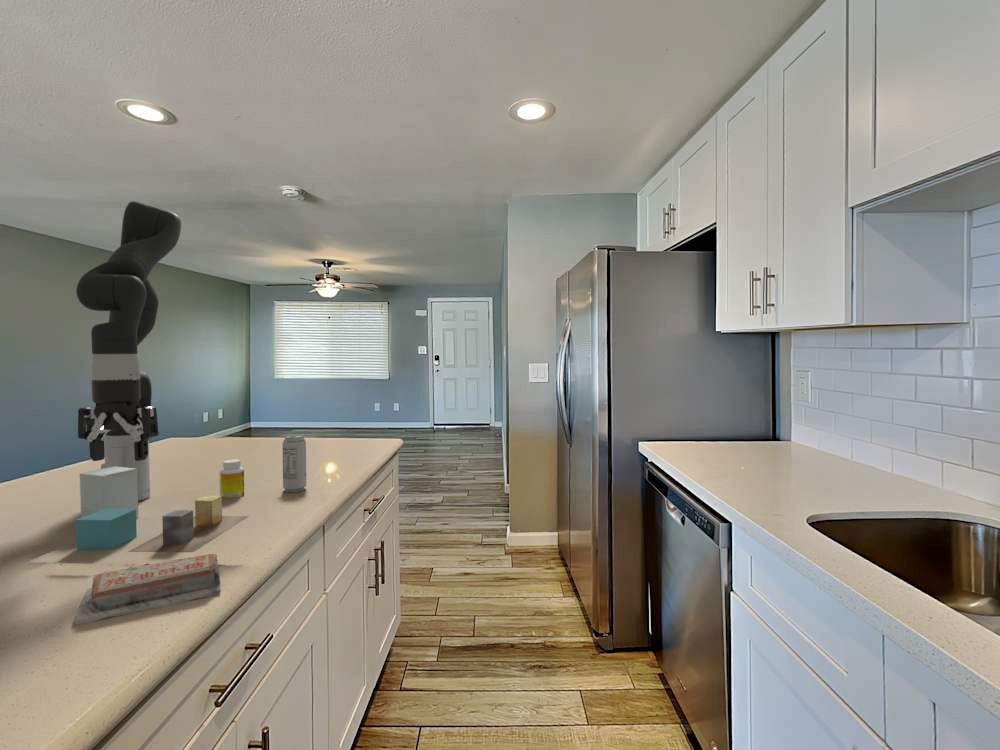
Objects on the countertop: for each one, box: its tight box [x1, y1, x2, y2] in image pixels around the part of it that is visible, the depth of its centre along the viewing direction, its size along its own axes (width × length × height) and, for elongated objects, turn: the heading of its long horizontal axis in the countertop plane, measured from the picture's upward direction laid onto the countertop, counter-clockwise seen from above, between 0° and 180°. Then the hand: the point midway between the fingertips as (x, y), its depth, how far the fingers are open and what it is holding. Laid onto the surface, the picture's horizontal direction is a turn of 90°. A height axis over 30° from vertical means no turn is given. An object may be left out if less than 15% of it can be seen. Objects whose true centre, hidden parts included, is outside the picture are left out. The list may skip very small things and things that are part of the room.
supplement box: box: [79, 466, 139, 520], centre depth 107 cm, size 7×7×13 cm
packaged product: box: [73, 553, 221, 626], centre depth 78 cm, size 18×5×10 cm
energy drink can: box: [282, 434, 307, 493], centre depth 138 cm, size 6×6×15 cm
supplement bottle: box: [219, 458, 245, 499], centre depth 128 cm, size 6×6×10 cm
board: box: [129, 509, 249, 553], centre depth 101 cm, size 12×20×7 cm, turn 0°
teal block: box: [75, 509, 138, 551], centre depth 95 cm, size 6×6×7 cm
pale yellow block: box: [194, 495, 223, 527], centre depth 106 cm, size 4×4×6 cm
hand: (119, 460), depth 97 cm, fingers open, 8 cm apart
